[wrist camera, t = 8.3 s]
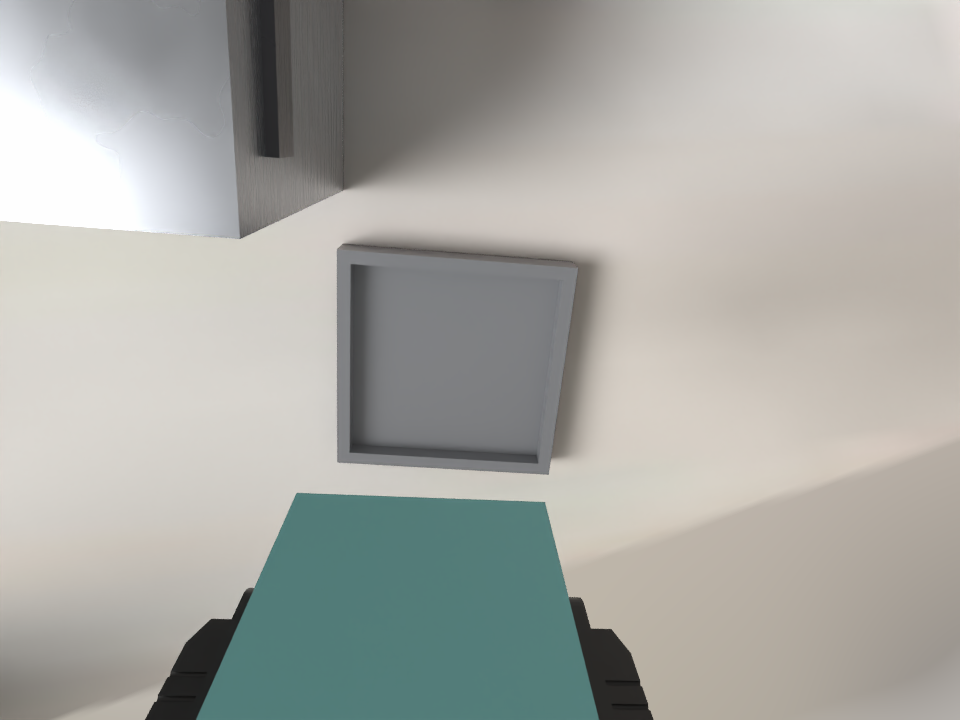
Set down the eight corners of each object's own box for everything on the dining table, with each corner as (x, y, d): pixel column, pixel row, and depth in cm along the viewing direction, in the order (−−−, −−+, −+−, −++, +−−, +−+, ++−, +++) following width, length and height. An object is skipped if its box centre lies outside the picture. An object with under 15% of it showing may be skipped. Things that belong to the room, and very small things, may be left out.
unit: (351, 191, 22) (255, 240, 12) (137, 173, 22) (-154, 208, 11) (352, -98, 19) (223, -372, 9) (102, -126, 19) (-344, -448, 8)
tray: (544, 460, 27) (548, 474, 25) (343, 448, 26) (337, 462, 25) (572, 261, 23) (578, 268, 22) (343, 244, 23) (336, 249, 22)
